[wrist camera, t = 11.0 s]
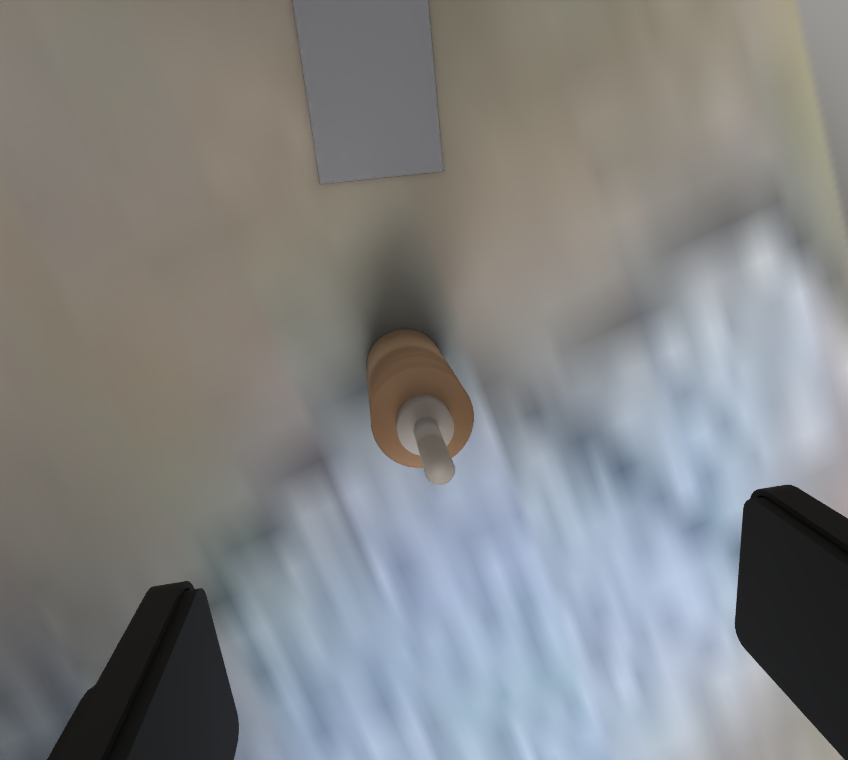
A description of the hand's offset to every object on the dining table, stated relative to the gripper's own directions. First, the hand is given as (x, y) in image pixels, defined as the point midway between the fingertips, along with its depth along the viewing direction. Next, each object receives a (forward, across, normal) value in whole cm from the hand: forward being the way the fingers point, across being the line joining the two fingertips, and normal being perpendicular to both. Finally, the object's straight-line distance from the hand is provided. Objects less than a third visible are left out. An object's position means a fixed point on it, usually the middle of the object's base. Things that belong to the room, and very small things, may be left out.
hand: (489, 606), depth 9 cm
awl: (+16, 0, 0) cm, 16 cm away
